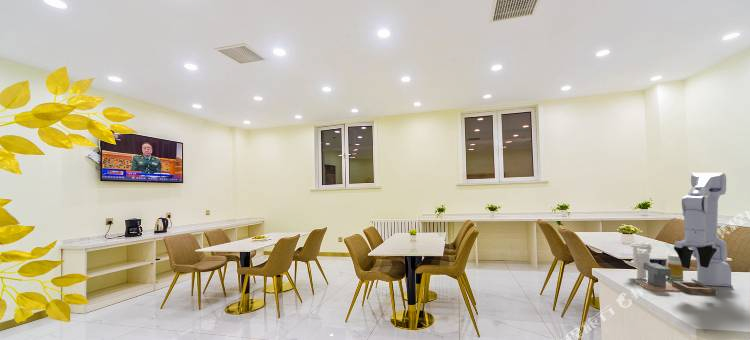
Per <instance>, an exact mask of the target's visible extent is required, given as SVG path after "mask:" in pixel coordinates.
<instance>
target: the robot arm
mask: <svg viewBox="0 0 750 340" xmlns="http://www.w3.org/2000/svg"><path fill="white" fill-rule="evenodd" d="M690 184H691V188H690V190H689V192H688V194H687V195H685V196H683V197H682V198H681V209H682V216H683V224H684V226H683V227H684V228H683V230H684V232H683V234H684V235H683V237H684V239H682V240H679V241H674V245H673V250H674V251H675V253H676V255H678V256H679V258H680V261H681V264H682V267H683V269H684V268H685V269H690V267H691V260H692V257H693V258H694V259H695V260H696V263H697V265H696V269H697V270H696V274H697V275H696V277H697V278H694V277H693V278H691V280H693V282H699V283H701V284H704V285H706V286H718V287H733V286H734V285H733V284H732V267H731V266H730V264H729V263H728V262H726V261H727V259H728V249H727V247H728V246H727V243H726V242H725V240H723V239H721V238H720V237H719V236H718V212H719V211H718V209H719V206H718V205H719V204H718V203H719V200H720V199H719V198H720V196H722V195H725V194H726V192H727V176H726V173H724V172H699V173H698V172H692V174H691V175H690ZM690 248H691V249H690Z"/></svg>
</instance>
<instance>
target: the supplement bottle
mask: <svg viewBox="0 0 750 340" xmlns="http://www.w3.org/2000/svg"><path fill="white" fill-rule="evenodd" d="M667 258H668V259H667V260H666V261H665V267H667V268H669V269H671V276H667V277H668V278H671V279H670V280H672V279H673V280H672V281H684V267H682V264H681V261H680V258H679V256H678V254H668V255H667ZM667 277H666V278H667ZM668 278H667V279H668Z"/></svg>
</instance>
